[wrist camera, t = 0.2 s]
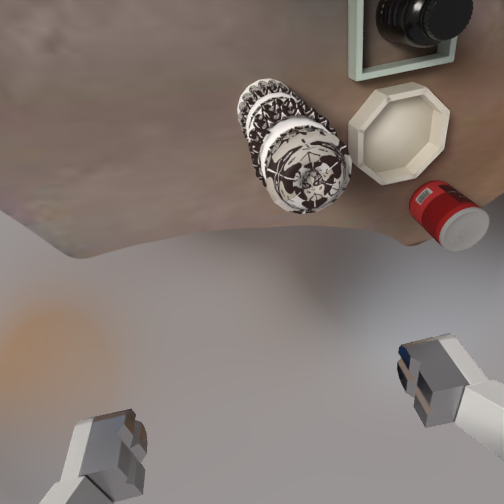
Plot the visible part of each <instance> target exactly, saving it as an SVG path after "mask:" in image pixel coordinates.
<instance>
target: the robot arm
mask: <svg viewBox="0 0 504 504" xmlns="http://www.w3.org/2000/svg"><path fill="white" fill-rule="evenodd" d="M398 353H399V355H400V356H401V359H400V360H399V361H398V362H397V370H398V375H399V378H400V381H401V383H402V386H403V388H404V390H405V391H406V393H408V394H409V395H411V396H412V397H414V398H415V400H414V408H415V410H416V412H417V413H418V415H419V417H420V419H421V421H422V422H423V424H424V426H425V427H426V428H427V427H432V426H436V425H442V424H446V423H451V422H455V424H456V425H457V426H459V427H460V428H461V429H462V430H464V431H465V432H466V433H468V434H469V435H470V436H472V437H473V438H474V439H476V440H477V441H478V442H480V443H481V444H482V445H484V446H485V447H486V448H487V449H489V450H490V451H491V452H493V453H494V454H495V455H497V456H498V457H499V458H501V459H502V460H503V461H504V384H503V383H501V382H499V381H497V380H496V379H493V380H489V379H488V378H487V376H486V375H485V374H484V372H483V371H482V370H481V369H480V367H479V366H478V365H477V363H475V361H474V360H473V358H472V357H471V356H470V355H469V353H468V352H467V351H466V349H465V348H464V347H463V346H462V344H461V343H460V342H459V341H458V340H457V338H456V337H455V336H454V335H452V334H444V335H440V336H437V337H430V338H426V339H422V340H418V341H414V342H411V343H407V344H403V345H401V346H400V347H399V351H398ZM135 417H136V414H135V413H134V411H133V410H132V409H127V410H123V411H118V412H114V413H110V414H106V415H101V416H95V417H91V418H87V419H83V420H79V421H78V423H77V424H76V426H75V428H74V432H73V435H72V439H71V443H70V447H69V450H68V454H67V458H66V462H65V465H64V469H63V473H62V477H61V480H60V482H56V483H55V484H54V485H53V486H52V487H51V489H50V490H49V492H48V493H47V494H46V495H45V497H44V498H43V499H42V501H41V502H40V503H39V504H114V502H117V501H121V500H125V499H128V498H132V497H136V496H140V495H143V488H144V478H145V469H144V467H143V466H142V464H141V462H142V460H143V459H144V457H145V456H146V454H147V434H146V430H145V428H144V425H143V424H142V423H141V422H139V421H137V420H135Z"/></svg>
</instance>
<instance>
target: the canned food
mask: <svg viewBox="0 0 504 504" xmlns="http://www.w3.org/2000/svg"><path fill="white" fill-rule="evenodd" d="M409 209H410V212H411V215H412V216H413V218H414V219H415V220H416V221H417V222H418V223H419V224H420V225H421V226H422V227H423V228H424V229H425V230H426V231H427V232H428V233H429V234H430V235H431V236H432V237H433V238H434V239H435V240H436V241H437V242H438V243H439V244H440V245H441V246H442V247H443V248H445V249H446V250H448V251H450V252H460V251H464V250H467V249H469V248H470V247H472V246H474V245H475V244H476V243H478V242H479V241H480V240H481V239H482V238H483V236H484V235H485V233H486V232H487V229H488V227H489V222H490V220H489V216H488V214H487V213H486V212H485V211H484V210H483V209H482V208H480V207H479V206H478V205H476V204H475V203H474V202H472V201H471V200H469V199H468V198H467V197H465V196H464V195H463V194H461V193H460V192H458V191H457V190H456V189H454V188H453V187H451V186H450V185H449V184H447V183H445V182H442V181H430V182H427V183H425V184H423V185H422V186H421V187H419V188H418V189H417V190H416V191H415V193H414V194H413V196H412V197H411V200H410V203H409Z"/></svg>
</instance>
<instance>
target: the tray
mask: <svg viewBox="0 0 504 504" xmlns="http://www.w3.org/2000/svg"><path fill="white" fill-rule="evenodd" d="M363 7H364V0H348V77H349V78H351V79H352V80H354V81H361V80H366V79H371V78H376V77H381V76H386V75H391V74H395V73H400V72H405V71H410V70H415V69H420V68H425V67H430V66H435V65H440V64H444V63H449V62H454V56H455V50H456V43H457V37H458V36H456V37H455V38H452V39H450V40H446V41H442V42H441V43H439V44H438V47H437V53H436V54H431V55H426V56H421V57H416V58H411V59H406V60H401V61H396V62H391V63H386V64H382V65H377V66H372V67H367V68H362V56H363Z"/></svg>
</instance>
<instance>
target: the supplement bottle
mask: <svg viewBox="0 0 504 504" xmlns="http://www.w3.org/2000/svg"><path fill="white" fill-rule="evenodd" d="M472 10H473V1H472V0H380V1H379V3H378V6H377V10H376V25H377V28H378V31H379V33H380V34H381V35H382V36H383V37H384V38H385V39H387V40H389V41H392V42H396V43H401V44H405V45H410V46H414V47H419V48H428V47H432V46H435V45H437V44H439V43H441V42H442V41H446V40H450V39H452V38H455V37H456V36H458V35H459V34H460V33H461V32H462V31H463V29H465V28H466V25H467V24H468V23H469V20H470V19H471V15H472Z"/></svg>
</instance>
